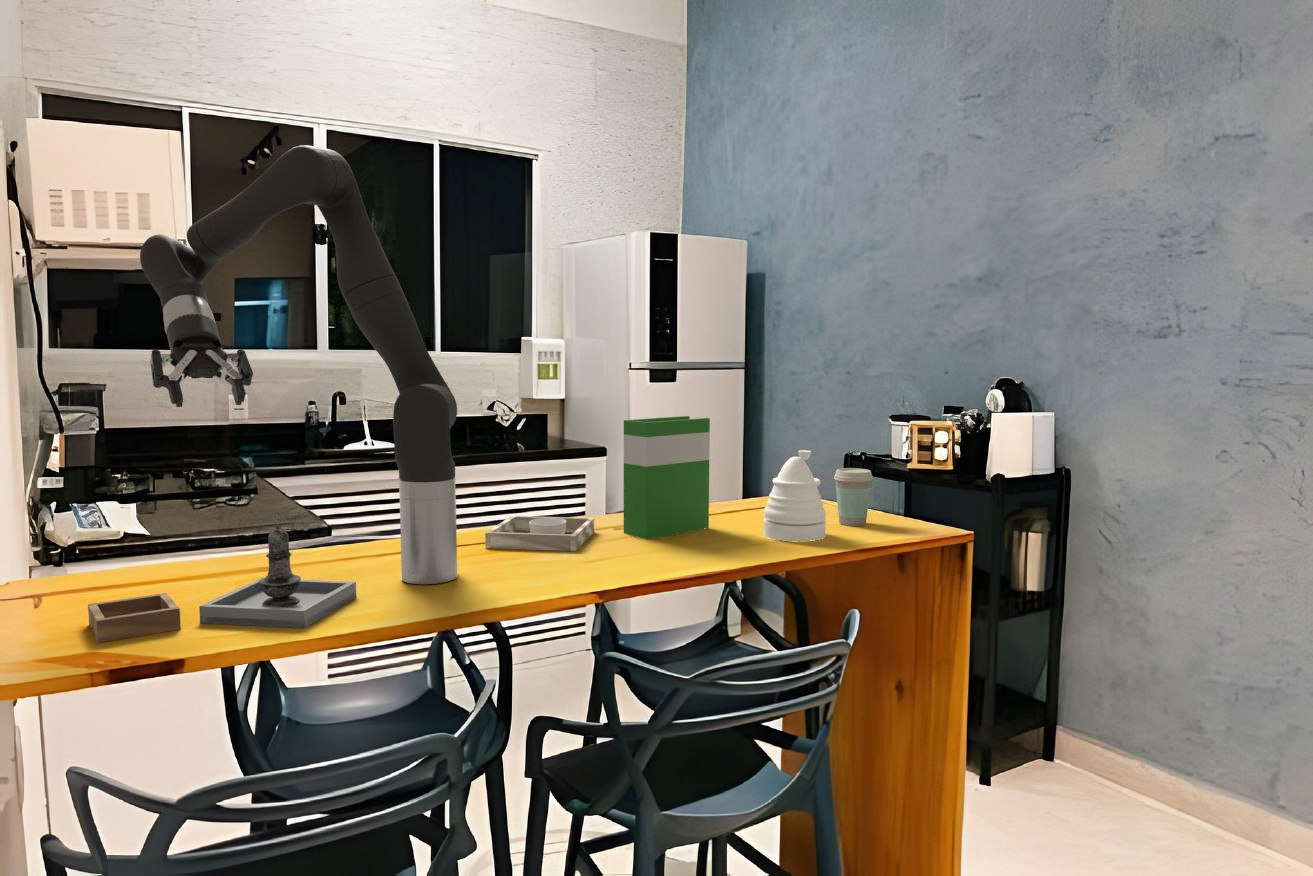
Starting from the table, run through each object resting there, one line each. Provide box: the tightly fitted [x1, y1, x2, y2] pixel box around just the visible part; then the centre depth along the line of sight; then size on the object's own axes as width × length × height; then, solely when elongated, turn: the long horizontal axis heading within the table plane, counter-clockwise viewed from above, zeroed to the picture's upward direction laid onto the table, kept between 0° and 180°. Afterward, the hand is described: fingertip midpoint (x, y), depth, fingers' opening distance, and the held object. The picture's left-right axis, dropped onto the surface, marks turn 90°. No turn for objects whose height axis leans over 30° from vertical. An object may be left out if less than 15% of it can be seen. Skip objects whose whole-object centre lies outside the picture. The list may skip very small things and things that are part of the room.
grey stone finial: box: [259, 524, 302, 608], centre depth 140 cm, size 6×6×12 cm
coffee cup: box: [833, 467, 874, 527], centre depth 208 cm, size 8×8×12 cm
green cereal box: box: [623, 415, 711, 540], centre depth 199 cm, size 18×7×24 cm, turn 130°
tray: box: [198, 577, 357, 629], centre depth 140 cm, size 16×16×2 cm
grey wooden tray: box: [484, 515, 595, 552], centre depth 190 cm, size 18×18×3 cm
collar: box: [87, 592, 182, 644], centre depth 132 cm, size 10×10×3 cm
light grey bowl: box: [529, 518, 566, 534], centre depth 187 cm, size 10×10×5 cm
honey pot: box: [763, 449, 827, 541], centre depth 194 cm, size 13×13×18 cm
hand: (210, 402), depth 145 cm, fingers open, 8 cm apart
